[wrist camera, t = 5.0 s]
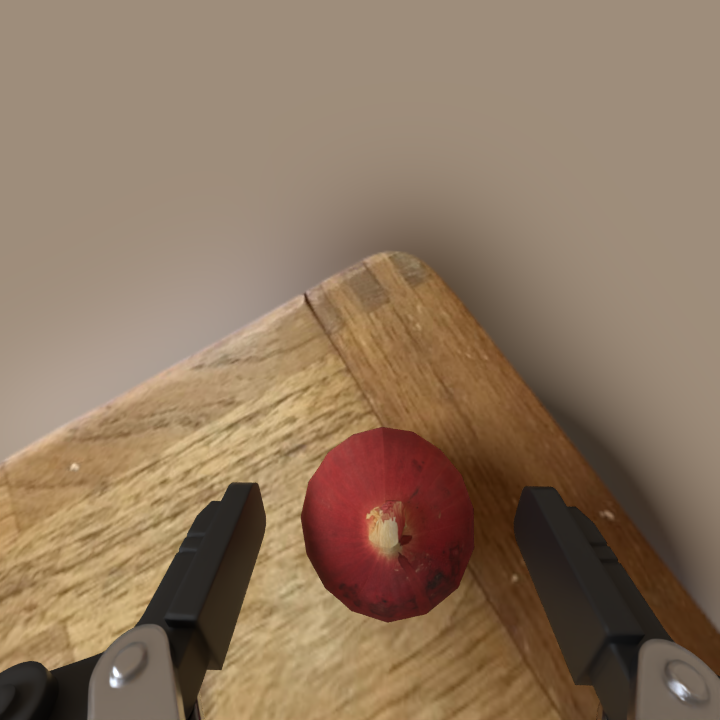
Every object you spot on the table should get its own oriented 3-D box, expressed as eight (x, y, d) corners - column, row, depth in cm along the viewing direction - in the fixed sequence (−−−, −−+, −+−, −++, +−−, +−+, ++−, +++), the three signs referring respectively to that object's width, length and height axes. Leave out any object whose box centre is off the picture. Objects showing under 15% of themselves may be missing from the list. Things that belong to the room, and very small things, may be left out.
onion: (475, 520, 15) (585, 581, 7) (370, 606, 14) (363, 782, 6) (396, 413, 16) (413, 368, 9) (297, 485, 15) (220, 506, 8)
